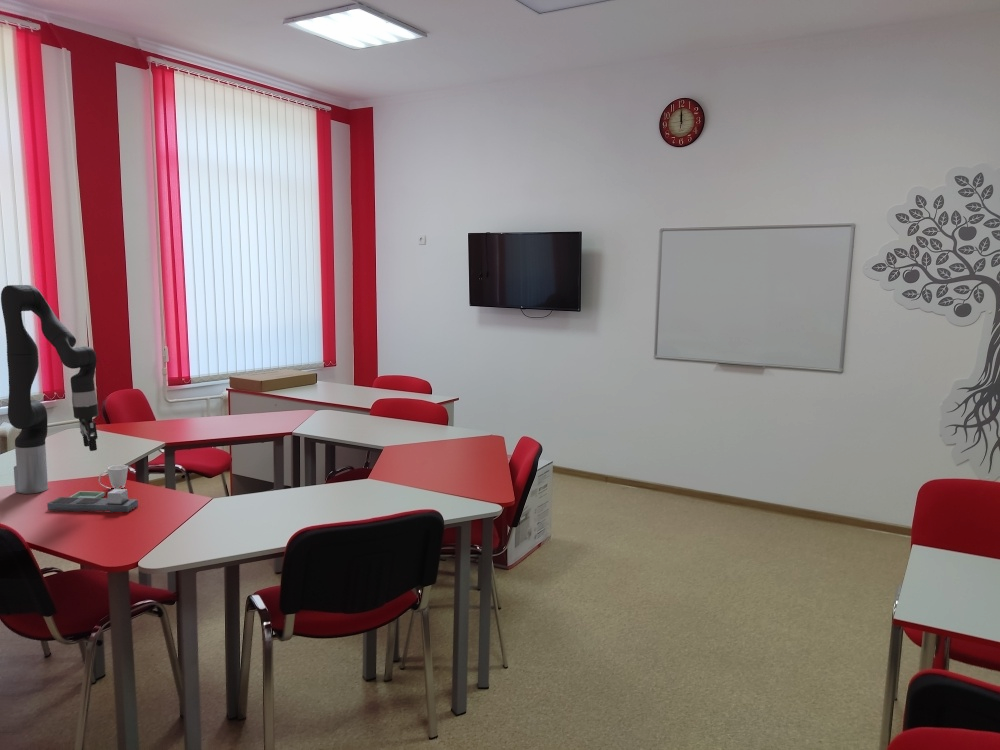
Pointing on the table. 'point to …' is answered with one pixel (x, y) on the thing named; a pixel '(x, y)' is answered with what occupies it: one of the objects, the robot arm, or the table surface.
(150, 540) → the table surface
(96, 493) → the tray
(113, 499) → the light grey block
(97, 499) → the dark grey organizer
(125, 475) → the cup
